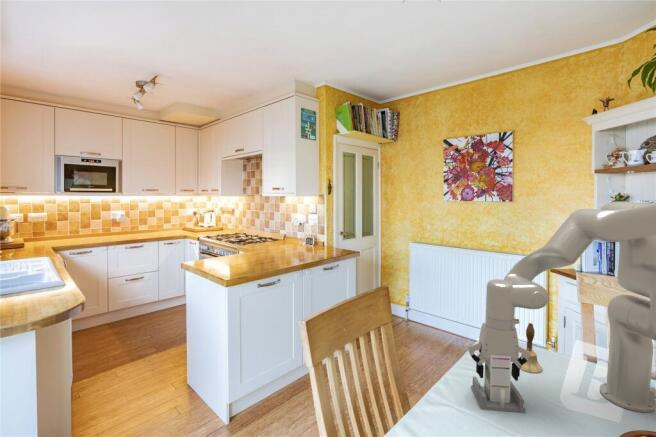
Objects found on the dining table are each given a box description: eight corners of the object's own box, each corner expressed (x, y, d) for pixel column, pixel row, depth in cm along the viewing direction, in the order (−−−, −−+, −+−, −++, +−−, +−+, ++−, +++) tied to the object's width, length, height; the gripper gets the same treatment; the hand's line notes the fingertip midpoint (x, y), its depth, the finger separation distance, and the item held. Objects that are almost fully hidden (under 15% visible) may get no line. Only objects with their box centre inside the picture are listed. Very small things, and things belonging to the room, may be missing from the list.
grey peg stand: (510, 391, 102) (511, 373, 101) (525, 413, 92) (526, 393, 91) (470, 388, 104) (471, 370, 103) (480, 409, 94) (481, 389, 93)
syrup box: (510, 403, 94) (512, 356, 93) (489, 401, 95) (490, 354, 94) (503, 391, 100) (505, 346, 99) (483, 390, 101) (484, 345, 100)
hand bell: (510, 360, 120) (512, 319, 119) (533, 361, 120) (535, 319, 118) (523, 373, 112) (525, 328, 110) (547, 373, 111) (550, 329, 110)
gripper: (525, 318, 98) (522, 372, 100) (465, 315, 101) (463, 368, 102) (537, 329, 91) (534, 387, 92) (472, 325, 93) (470, 382, 95)
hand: (497, 376), depth 97 cm, fingers open, 9 cm apart
